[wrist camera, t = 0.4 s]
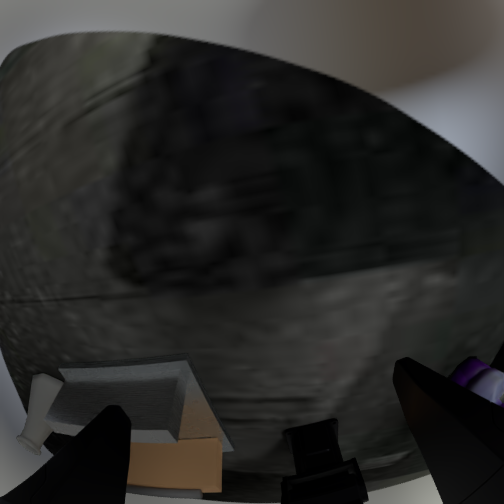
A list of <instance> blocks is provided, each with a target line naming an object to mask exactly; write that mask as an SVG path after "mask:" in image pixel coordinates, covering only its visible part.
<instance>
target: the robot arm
mask: <svg viewBox="0 0 504 504" xmlns="http://www.w3.org/2000/svg"><path fill="white" fill-rule="evenodd" d="M393 384H394V387H395V390H396V393H397V395H398V398H399V401H400V404H401V407H402V410H403V413H404V416H405V418H406V421H407V423H408V426H409V428H410V430H411V432H412V434H413V436H414V438H415V440H416V442H417V445H418V447H419V449H420V451H421V453H422V455H423V458H424V460H425V462H426V464H427V466H428V469H429V471H430V473H431V475H432V478H433V480H434V482H435V485H436V487H437V490H438V492H439V495H440V497H441V499H442V502H443V504H504V407H501V406H499V405H497V404H496V403H494V402H490V400H488V399H486V398H484V397H482V396H480V395H478V394H476V393H474V392H472V391H471V390H469V389H467V388H465V387H463V386H461V385H459V384H457V383H456V382H454V381H452V380H450V379H448V378H446V377H444V376H442V375H441V374H439V373H437V372H435V371H433V370H431V369H430V368H428V367H426V366H424V365H422V364H420V363H418V362H417V361H415V360H413V359H411V358H409V357H405V358H402V359H399V360H397V361H396V362H395V367H394V373H393ZM131 427H132V424H131V420H130V418H129V417H128V416H127V414H126V413H125V412H124V410H123V409H122V407H121V406H119V405H108V406H106V407H105V408H104V409H103V410H102V411H101V412H100V413H99V414H98V415H97V416H96V417H95V418H94V419H93V420H92V421H91V422H89V423H88V424H87V425H86V426H85V427H84V428H83V429H82V430H81V431H80V432H79V433H78V434H77V435H76V436H74V437H73V438H72V439H71V440H70V441H69V442H68V443H67V444H66V445H65V446H64V447H63V448H61V449H60V450H59V451H58V452H57V453H56V454H55V455H54V456H53V457H52V458H51V459H50V460H48V461H47V463H45V464H44V465H43V466H42V467H41V468H40V469H39V470H37V471H36V472H35V473H34V474H33V475H32V476H30V477H29V478H28V479H26V480H25V481H24V482H23V483H21V484H20V485H18V486H17V487H16V488H14V489H13V490H11V491H10V492H8V493H7V494H6V495H4V496H2V497H0V504H125V495H126V487H127V479H128V471H129V464H130V447H131ZM285 434H286V438H287V442H288V445H289V449H290V453H291V454H293V457H294V463H295V468H296V474H297V475H293V476H285V477H283V482H281V490H282V497H281V504H363V502H367V501H368V500H369V499H368V494H367V490H366V486H365V483H364V480H363V477H362V474H361V472H360V469H359V466H358V464H357V461H356V458H352V459H351V460H348V461H345V462H344V461H343V458H342V455H341V451H340V448H339V445H338V420H337V419H331V420H327V421H323V422H319V423H315V424H311V425H306V426H302V427H297V428H292V429H288V430H286V431H285Z"/></svg>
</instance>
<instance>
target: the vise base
mask: <svg viewBox="0 0 504 504" xmlns="http://www.w3.org/2000/svg"><path fill="white" fill-rule="evenodd" d="M58 369H59V371H60V372H61V374H62V375H63V377H64V378H65V382H64V383H63V385H62V387H61V389H60V390H59V392H58V394H57V396H56V398H55V399H54V401H53V403H52V405H51V407H50V409H49V410H48V412H47V414H46V416H45V418H44V421H45V422H46V423H47V424H48V425H49V426H50V427H51V429H52V430H53V431H54V432H56V433H61V434H66V435H72V436H76V435H77V434H78V433H79V432H80V431H81V430H82V429H83V428H84V427H85V426H86V425H87V424H88V423H89V422H91V421H92V420H93V419H94V418H95V417H96V416H97V415H98V414H99V413H100V412H101V411H102V410H103V409H104V408H105V407H106V406H108V405H119V406H121V407H122V409H123V410H124V412H125V413H126V414H127V416H128V417H129V418H130V420H131V424H132V427H131V442H137V443H178V440H185V439H205V438H218V439H219V441H220V442H221V444H222V452H228V451H234V443H233V441H232V440H231V438H230V436H229V434H228V433H227V431H226V429H225V427H224V425H223V423H222V422H221V420H220V418H219V416H218V414H217V412H216V410H215V408H214V406H213V404H212V402H211V400H210V398H209V396H208V394H207V392H206V390H205V388H204V386H203V384H202V382H201V380H200V378H199V376H198V374H197V372H196V370H195V367H194V365H193V363H192V361H191V359H190V357H189V354H188V353H184V354H177V355H169V356H160V357H151V358H141V359H130V360H117V361H102V362H83V363H61V365H60V366H59V368H58Z"/></svg>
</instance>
